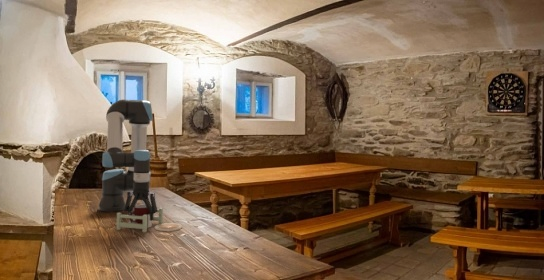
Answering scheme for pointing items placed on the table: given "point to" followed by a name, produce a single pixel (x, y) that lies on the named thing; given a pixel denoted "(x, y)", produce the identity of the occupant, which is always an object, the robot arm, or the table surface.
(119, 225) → the cradle
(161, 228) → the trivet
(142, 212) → the mug
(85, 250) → the table surface
